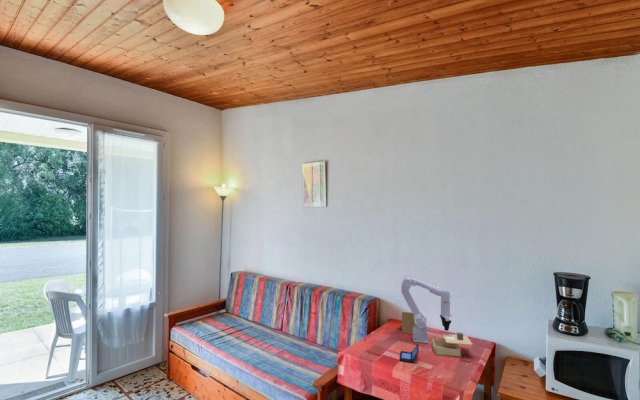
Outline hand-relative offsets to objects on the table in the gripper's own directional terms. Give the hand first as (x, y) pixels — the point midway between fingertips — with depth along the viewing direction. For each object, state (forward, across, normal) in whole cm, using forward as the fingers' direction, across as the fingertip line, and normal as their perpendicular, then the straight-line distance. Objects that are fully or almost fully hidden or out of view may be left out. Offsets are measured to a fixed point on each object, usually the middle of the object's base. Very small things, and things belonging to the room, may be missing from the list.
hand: (445, 328), depth 213 cm
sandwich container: (+11, +21, +22) cm, 32 cm away
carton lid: (+3, -11, -5) cm, 12 cm away
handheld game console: (+11, -26, +25) cm, 38 cm away
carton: (+10, -11, +2) cm, 15 cm away
